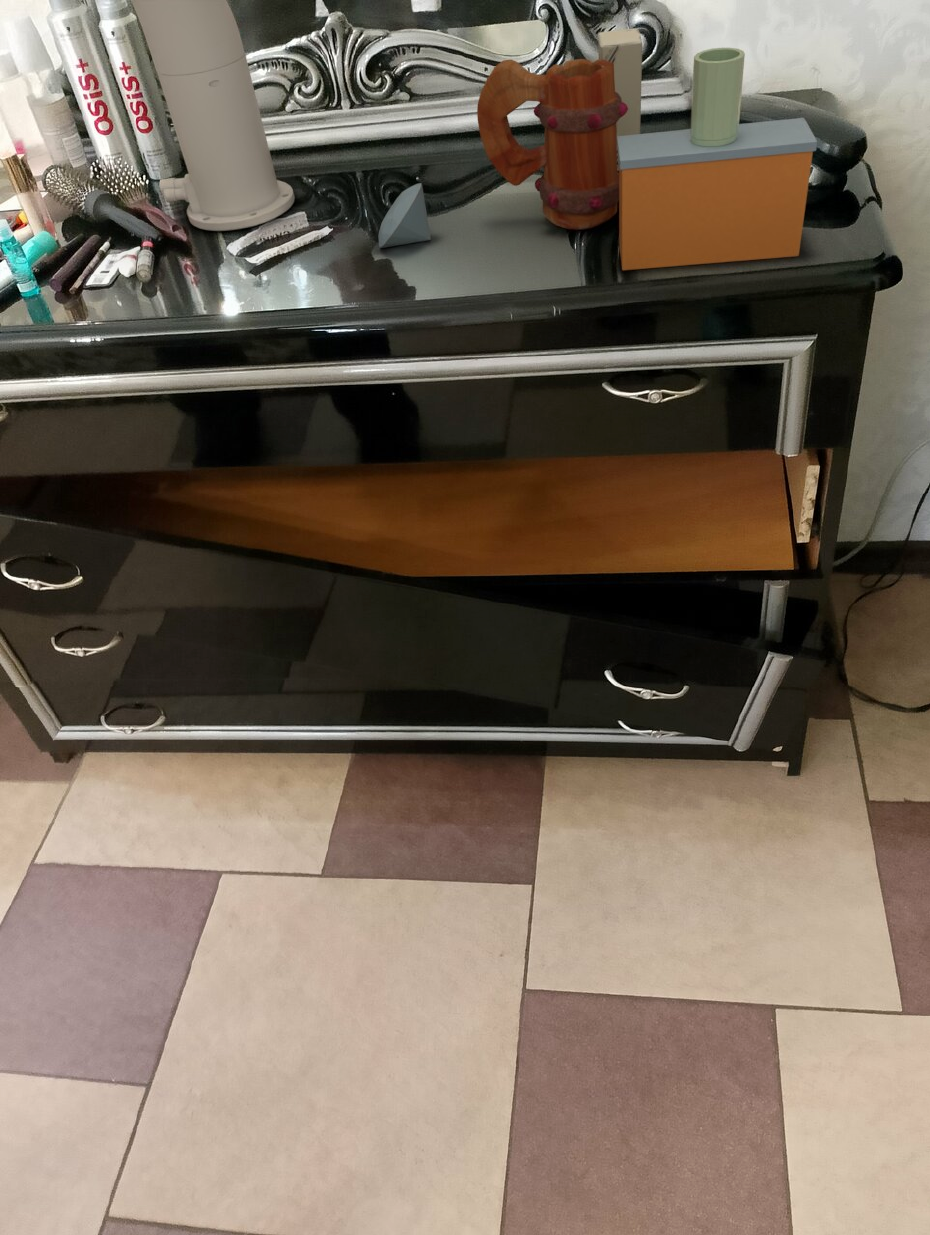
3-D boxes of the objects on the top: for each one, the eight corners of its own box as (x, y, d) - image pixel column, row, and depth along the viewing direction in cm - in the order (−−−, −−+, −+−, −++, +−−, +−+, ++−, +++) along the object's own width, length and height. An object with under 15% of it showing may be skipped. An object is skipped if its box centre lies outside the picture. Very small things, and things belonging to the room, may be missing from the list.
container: (620, 271, 88) (619, 160, 81) (617, 244, 92) (616, 136, 85) (801, 257, 86) (817, 141, 79) (790, 229, 90) (804, 117, 83)
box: (598, 157, 109) (596, 31, 100) (637, 153, 108) (638, 26, 99) (601, 174, 105) (599, 44, 96) (641, 170, 104) (643, 39, 95)
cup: (692, 149, 81) (697, 64, 76) (688, 132, 83) (691, 50, 79) (740, 144, 80) (747, 59, 76) (734, 128, 83) (740, 45, 78)
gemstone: (459, 194, 97) (420, 162, 95) (442, 235, 93) (401, 202, 91) (420, 243, 103) (382, 214, 101) (402, 284, 98) (363, 255, 97)
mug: (634, 203, 98) (635, 41, 88) (622, 237, 93) (621, 68, 82) (499, 205, 102) (485, 50, 92) (480, 237, 97) (463, 76, 86)
